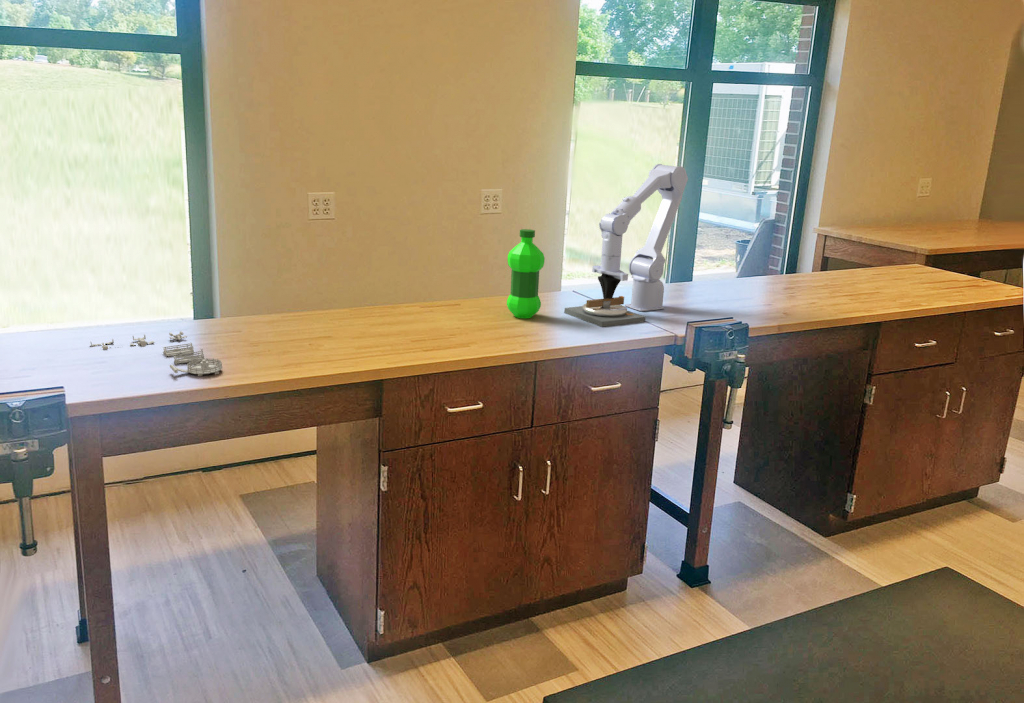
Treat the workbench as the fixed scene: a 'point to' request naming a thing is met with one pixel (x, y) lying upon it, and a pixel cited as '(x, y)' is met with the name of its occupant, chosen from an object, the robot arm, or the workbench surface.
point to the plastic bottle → (525, 276)
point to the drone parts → (184, 357)
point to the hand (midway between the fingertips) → (607, 300)
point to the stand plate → (604, 317)
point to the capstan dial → (606, 307)
